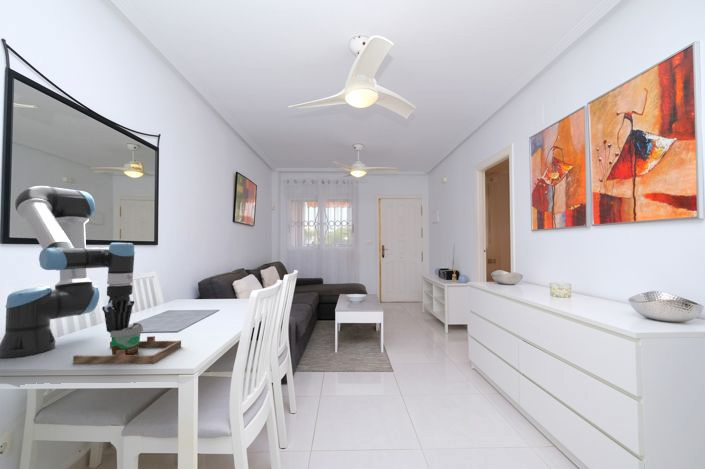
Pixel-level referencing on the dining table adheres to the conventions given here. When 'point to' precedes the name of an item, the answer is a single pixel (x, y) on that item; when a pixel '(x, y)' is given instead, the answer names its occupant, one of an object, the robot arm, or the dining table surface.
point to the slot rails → (123, 358)
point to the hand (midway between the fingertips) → (116, 349)
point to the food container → (127, 339)
